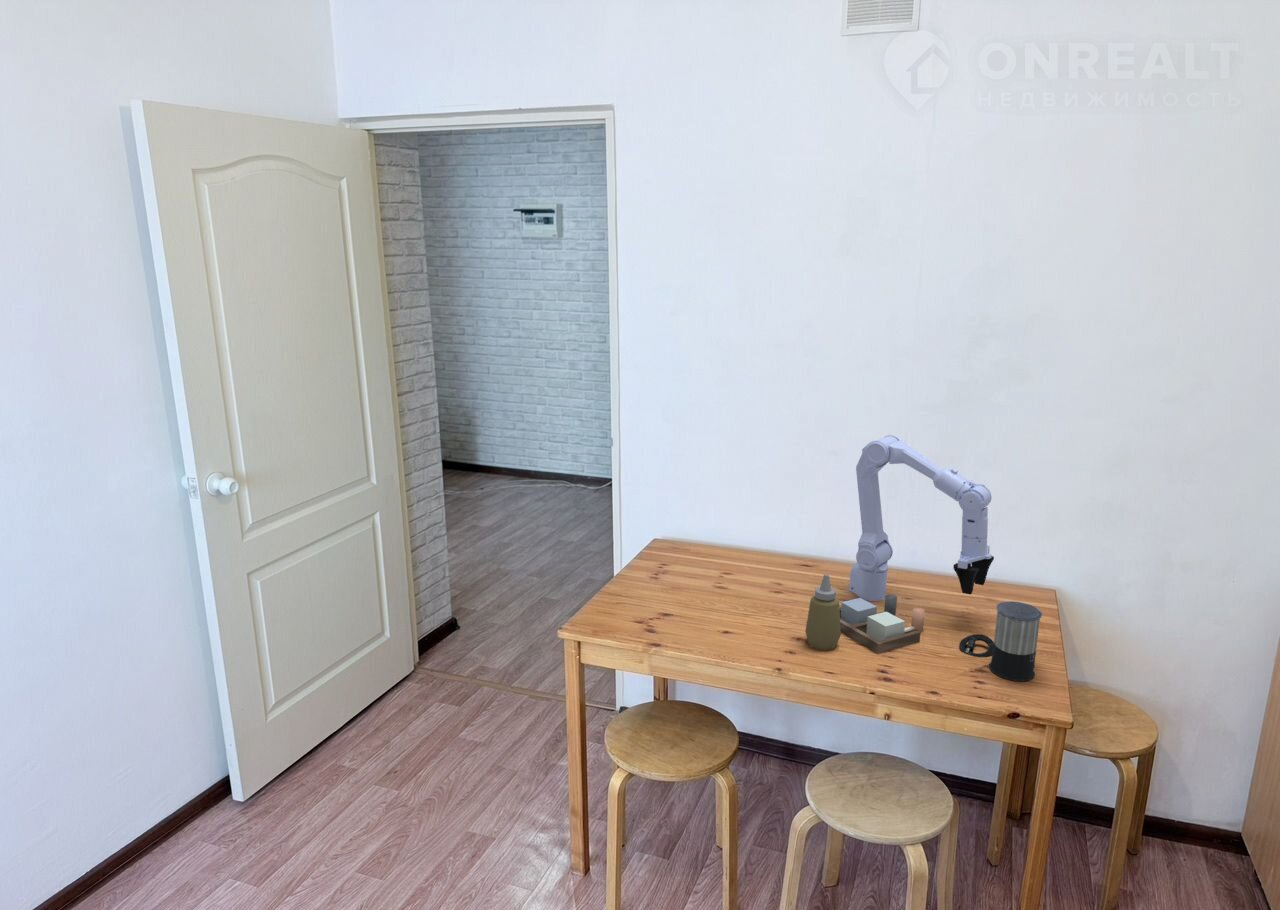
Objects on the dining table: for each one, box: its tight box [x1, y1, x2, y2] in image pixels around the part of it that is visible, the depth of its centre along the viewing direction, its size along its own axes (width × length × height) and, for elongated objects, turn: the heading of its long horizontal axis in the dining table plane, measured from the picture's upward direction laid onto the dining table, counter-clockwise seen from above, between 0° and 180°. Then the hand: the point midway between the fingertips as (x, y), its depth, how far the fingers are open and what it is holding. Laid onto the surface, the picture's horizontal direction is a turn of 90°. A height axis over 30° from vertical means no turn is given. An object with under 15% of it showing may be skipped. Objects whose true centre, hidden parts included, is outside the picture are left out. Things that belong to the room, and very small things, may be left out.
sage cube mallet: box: [866, 607, 926, 641], centre depth 196 cm, size 6×15×5 cm, turn 117°
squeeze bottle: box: [804, 574, 841, 651], centre depth 190 cm, size 8×8×18 cm
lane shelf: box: [839, 606, 921, 655], centre depth 201 cm, size 20×28×3 cm
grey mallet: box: [840, 593, 898, 625], centre depth 204 cm, size 6×15×5 cm, turn 117°
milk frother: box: [958, 601, 1043, 682], centre depth 182 cm, size 14×16×15 cm
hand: (973, 588), depth 200 cm, fingers open, 7 cm apart
